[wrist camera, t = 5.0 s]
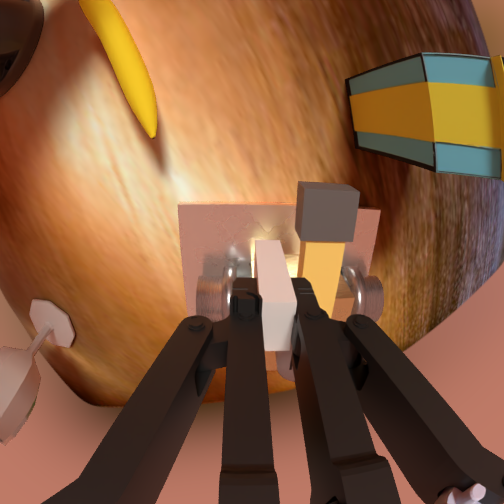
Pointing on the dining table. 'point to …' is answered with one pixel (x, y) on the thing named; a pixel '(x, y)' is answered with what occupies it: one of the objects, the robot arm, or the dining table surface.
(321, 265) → the lever
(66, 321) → the wineglass
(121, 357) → the dining table surface
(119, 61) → the banana
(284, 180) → the dining table surface
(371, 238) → the valve body
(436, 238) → the dining table surface
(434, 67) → the carton
